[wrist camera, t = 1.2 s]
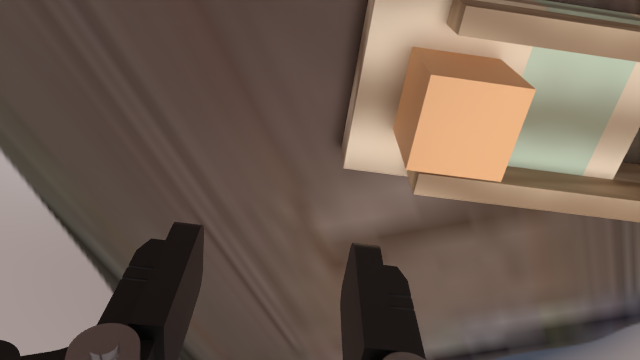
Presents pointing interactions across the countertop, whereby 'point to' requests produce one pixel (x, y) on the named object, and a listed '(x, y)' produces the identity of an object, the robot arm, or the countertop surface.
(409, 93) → the block
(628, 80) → the cream tray
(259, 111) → the countertop surface
